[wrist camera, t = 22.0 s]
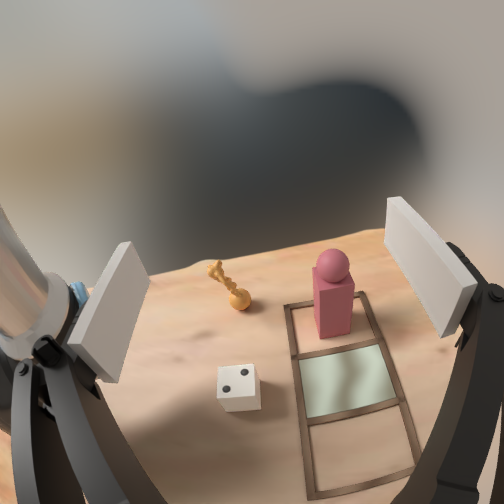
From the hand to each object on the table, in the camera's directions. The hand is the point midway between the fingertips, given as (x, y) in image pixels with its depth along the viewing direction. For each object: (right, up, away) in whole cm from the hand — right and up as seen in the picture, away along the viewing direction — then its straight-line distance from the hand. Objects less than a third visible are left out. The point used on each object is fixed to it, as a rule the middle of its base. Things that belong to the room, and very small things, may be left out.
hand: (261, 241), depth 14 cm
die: (-2, -21, +23) cm, 32 cm away
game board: (+13, -19, +22) cm, 32 cm away
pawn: (+13, -13, +31) cm, 36 cm away
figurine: (-3, -11, +38) cm, 40 cm away
